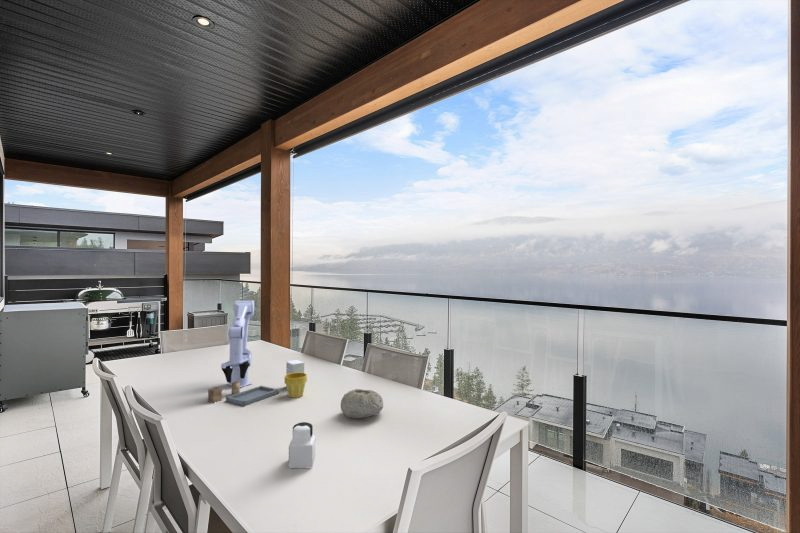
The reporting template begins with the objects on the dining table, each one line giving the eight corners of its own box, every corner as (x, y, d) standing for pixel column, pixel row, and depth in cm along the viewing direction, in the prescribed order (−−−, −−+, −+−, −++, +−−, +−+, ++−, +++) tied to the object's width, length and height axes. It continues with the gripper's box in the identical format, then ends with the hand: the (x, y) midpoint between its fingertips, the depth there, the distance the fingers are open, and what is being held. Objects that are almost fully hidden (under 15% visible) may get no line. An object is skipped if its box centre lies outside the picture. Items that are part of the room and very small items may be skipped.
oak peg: (229, 394, 184) (229, 383, 184) (236, 392, 187) (236, 381, 187) (234, 395, 182) (235, 384, 182) (241, 393, 185) (241, 382, 185)
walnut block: (208, 401, 174) (208, 389, 174) (215, 399, 178) (216, 387, 178) (213, 403, 172) (213, 390, 172) (221, 400, 176) (221, 388, 176)
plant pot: (280, 395, 183) (280, 375, 183) (298, 390, 191) (299, 370, 191) (291, 400, 176) (292, 379, 176) (311, 395, 184) (311, 375, 184)
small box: (304, 388, 195) (304, 362, 195) (292, 390, 191) (292, 364, 191) (297, 384, 201) (297, 359, 201) (285, 386, 197) (286, 361, 197)
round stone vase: (365, 404, 173) (365, 382, 173) (392, 415, 160) (392, 391, 160) (332, 414, 160) (332, 390, 161) (358, 427, 148) (358, 401, 148)
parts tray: (226, 401, 174) (226, 397, 174) (261, 389, 192) (261, 385, 192) (244, 406, 169) (244, 401, 169) (278, 393, 186) (278, 389, 186)
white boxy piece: (292, 457, 124) (293, 420, 124) (315, 457, 125) (315, 419, 125) (288, 469, 117) (288, 429, 117) (312, 468, 117) (312, 429, 117)
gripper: (228, 355, 176) (228, 385, 176) (254, 350, 189) (253, 377, 189) (218, 353, 180) (218, 383, 180) (244, 348, 193) (244, 375, 192)
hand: (235, 380), depth 185 cm, fingers open, 7 cm apart
